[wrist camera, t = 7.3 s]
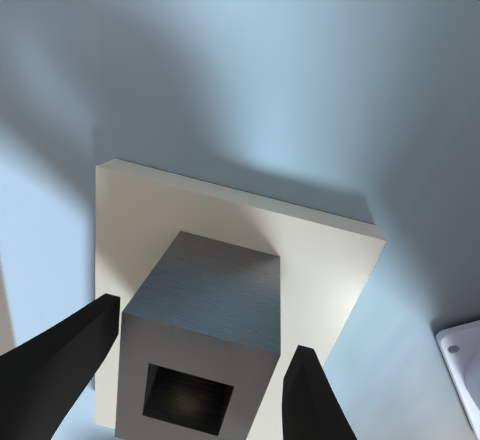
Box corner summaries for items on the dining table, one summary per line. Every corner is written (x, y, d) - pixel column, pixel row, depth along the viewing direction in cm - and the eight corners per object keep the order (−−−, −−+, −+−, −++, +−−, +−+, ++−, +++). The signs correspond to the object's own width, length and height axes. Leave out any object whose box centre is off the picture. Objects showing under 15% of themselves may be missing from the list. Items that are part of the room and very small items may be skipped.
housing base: (114, 158, 13) (24, 193, 8) (375, 225, 13) (429, 299, 8) (107, 401, 20) (57, 489, 16) (269, 446, 20) (266, 549, 16)
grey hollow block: (180, 230, 12) (121, 311, 8) (280, 256, 12) (280, 354, 8) (165, 330, 15) (114, 436, 10) (247, 352, 15) (233, 469, 10)
